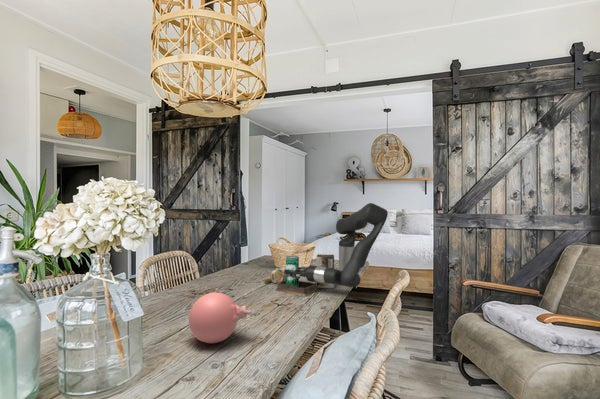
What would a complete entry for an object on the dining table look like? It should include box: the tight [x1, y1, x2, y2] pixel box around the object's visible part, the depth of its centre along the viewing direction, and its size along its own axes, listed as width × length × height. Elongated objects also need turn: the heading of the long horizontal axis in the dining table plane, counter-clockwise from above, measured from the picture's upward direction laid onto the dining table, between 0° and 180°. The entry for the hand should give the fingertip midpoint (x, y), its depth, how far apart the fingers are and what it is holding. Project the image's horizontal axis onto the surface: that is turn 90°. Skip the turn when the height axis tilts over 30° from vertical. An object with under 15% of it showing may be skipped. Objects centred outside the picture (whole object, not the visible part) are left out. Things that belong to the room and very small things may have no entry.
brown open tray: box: [275, 280, 317, 297], centre depth 162 cm, size 11×17×3 cm, turn 60°
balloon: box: [188, 292, 253, 344], centre depth 105 cm, size 15×20×15 cm
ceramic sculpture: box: [262, 266, 286, 284], centre depth 177 cm, size 11×9×15 cm
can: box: [285, 255, 300, 287], centre depth 163 cm, size 6×6×15 cm
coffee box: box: [316, 254, 335, 289], centre depth 169 cm, size 9×6×16 cm
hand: (288, 270), depth 164 cm, fingers closed on can, 6 cm apart
